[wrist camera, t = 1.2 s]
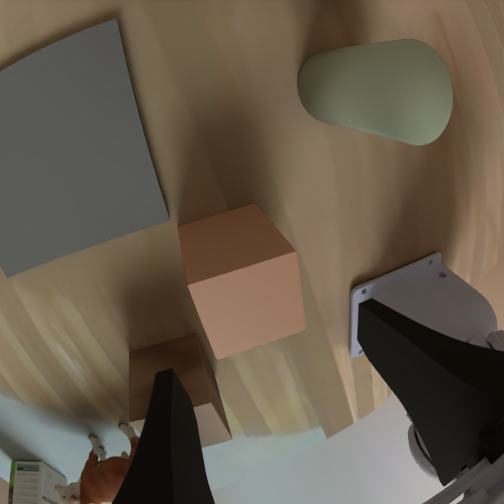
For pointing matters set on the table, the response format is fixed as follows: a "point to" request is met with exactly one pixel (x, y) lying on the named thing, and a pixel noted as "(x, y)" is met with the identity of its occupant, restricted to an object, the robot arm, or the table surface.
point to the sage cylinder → (380, 89)
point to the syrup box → (34, 483)
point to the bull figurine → (100, 474)
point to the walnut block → (192, 378)
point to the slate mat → (72, 151)
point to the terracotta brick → (242, 279)
